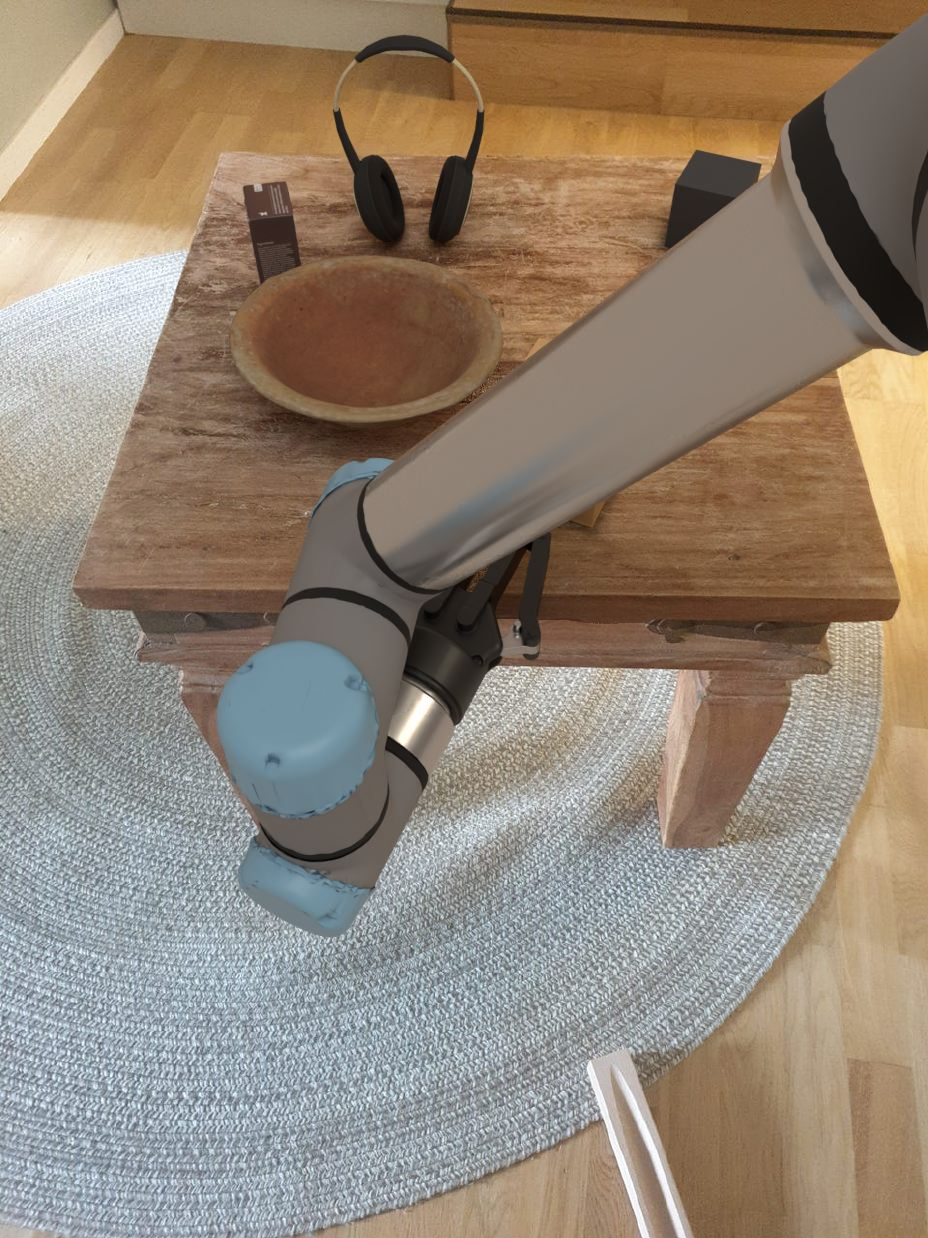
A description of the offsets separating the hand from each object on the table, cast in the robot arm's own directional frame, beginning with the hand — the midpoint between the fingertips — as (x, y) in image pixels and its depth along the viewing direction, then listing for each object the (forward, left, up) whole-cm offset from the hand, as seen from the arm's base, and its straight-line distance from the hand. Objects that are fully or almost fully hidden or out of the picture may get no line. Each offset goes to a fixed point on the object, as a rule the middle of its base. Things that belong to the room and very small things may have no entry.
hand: (543, 463), depth 73 cm
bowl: (+17, -13, -6) cm, 22 cm away
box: (+28, -24, -6) cm, 37 cm away
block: (-14, -41, -6) cm, 44 cm away
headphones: (+17, -38, -6) cm, 42 cm away
